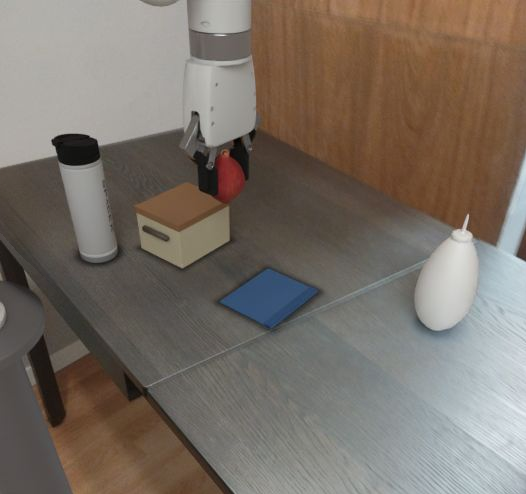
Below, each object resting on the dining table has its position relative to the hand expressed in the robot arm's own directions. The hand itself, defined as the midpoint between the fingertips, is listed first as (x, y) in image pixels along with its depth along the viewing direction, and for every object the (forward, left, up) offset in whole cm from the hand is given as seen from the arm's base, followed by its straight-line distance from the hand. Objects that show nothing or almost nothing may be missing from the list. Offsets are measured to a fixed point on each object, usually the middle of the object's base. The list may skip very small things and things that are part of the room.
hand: (224, 184), depth 77 cm
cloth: (0, -9, -16) cm, 18 cm away
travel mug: (-9, +21, -16) cm, 28 cm away
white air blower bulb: (+10, -32, -16) cm, 37 cm away
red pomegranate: (0, 0, -3) cm, 3 cm away
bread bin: (+3, +12, -16) cm, 20 cm away
